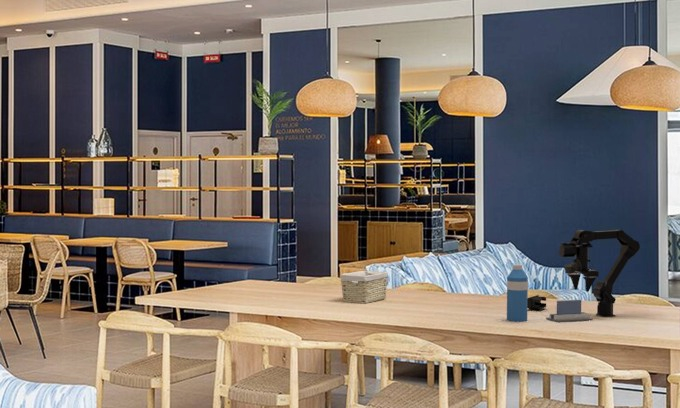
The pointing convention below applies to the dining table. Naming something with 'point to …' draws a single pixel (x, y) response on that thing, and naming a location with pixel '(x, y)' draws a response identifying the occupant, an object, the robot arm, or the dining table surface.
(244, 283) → the dining table surface
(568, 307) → the door panel
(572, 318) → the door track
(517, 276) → the water bottle
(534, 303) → the end cap
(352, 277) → the storage basket
